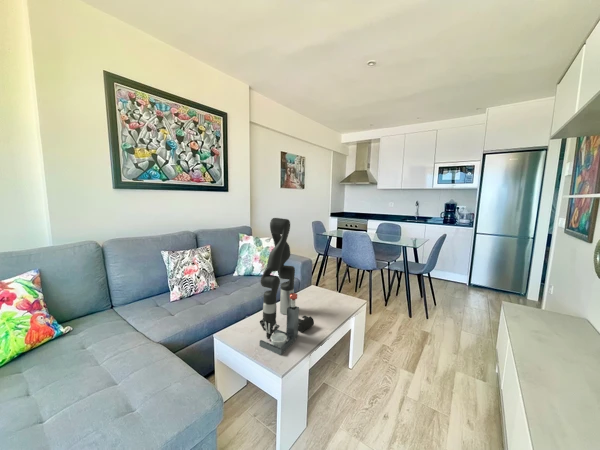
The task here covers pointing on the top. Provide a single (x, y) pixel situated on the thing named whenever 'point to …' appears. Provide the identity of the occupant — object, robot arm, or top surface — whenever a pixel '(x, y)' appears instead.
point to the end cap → (305, 323)
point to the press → (290, 332)
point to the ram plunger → (293, 300)
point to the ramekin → (278, 339)
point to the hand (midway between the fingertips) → (269, 338)
